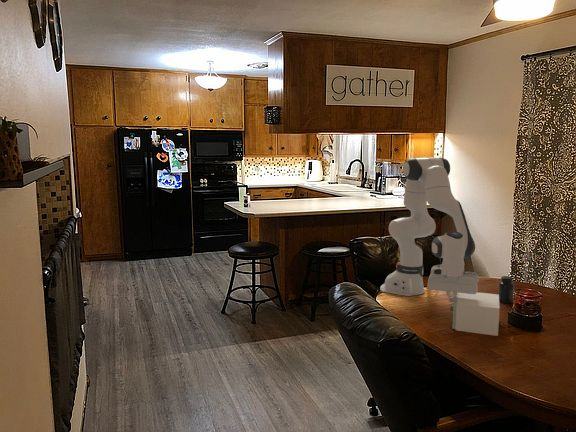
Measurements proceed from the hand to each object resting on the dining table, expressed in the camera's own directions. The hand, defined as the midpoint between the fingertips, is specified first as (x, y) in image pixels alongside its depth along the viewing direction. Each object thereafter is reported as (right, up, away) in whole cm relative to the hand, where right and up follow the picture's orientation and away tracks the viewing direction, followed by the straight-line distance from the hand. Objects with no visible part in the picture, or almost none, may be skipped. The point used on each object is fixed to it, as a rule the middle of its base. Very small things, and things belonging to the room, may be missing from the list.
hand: (451, 301), depth 201 cm
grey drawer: (+7, -9, -1) cm, 12 cm away
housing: (+10, -10, -3) cm, 14 cm away
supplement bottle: (+35, -5, +26) cm, 44 cm away
